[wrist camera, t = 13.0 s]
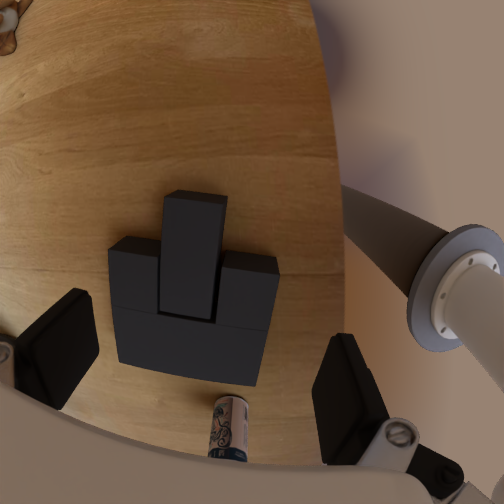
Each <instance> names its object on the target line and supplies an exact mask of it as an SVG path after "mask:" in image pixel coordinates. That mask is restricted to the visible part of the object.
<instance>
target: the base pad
mask: <svg viewBox="0 0 504 504" xmlns="http://www.w3.org/2000/svg"><path fill="white" fill-rule="evenodd" d="M160 260H161V241H159V240H152V239H145V238H138V237H131V236H126V237H124V238H123V239H121V240H120V241H119V242H117V243H116V244H115V245H113V246H112V247H111V248H109V249H108V263H109V281H110V295H111V305H112V315H113V324H114V332H115V339H116V346H117V353H118V359H119V362H120V363H124V364H128V365H132V366H136V367H140V368H144V369H149V370H153V371H158V372H163V373H167V374H172V375H178V376H183V377H188V378H194V379H200V380H207V381H213V382H220V383H228V384H236V385H244V386H254V387H255V386H256V382H257V378H258V373H259V369H260V365H261V361H262V356H263V352H264V347H265V343H266V339H267V334H268V330H269V325H270V321H271V316H272V311H273V307H274V302H275V297H276V293H277V288H278V283H279V278H280V273H279V268H278V263H277V259H276V257H271V256H264V255H257V254H250V253H243V252H236V251H229V250H226V254H225V257H224V261H223V265H222V270H221V279H220V287H219V296H218V301H214V305H213V309H212V313H211V318H210V319H205V318H198V317H192V316H186V315H180V314H175V313H169V312H164V311H160Z"/></svg>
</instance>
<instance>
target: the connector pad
mask: <svg viewBox="0 0 504 504" xmlns="http://www.w3.org/2000/svg"><path fill="white" fill-rule="evenodd" d="M227 199H228V196H223V195H216V194H208V193H200V192H192V191H184V190H177V191H175V192H173V193H171V194H169V195H167V196H165V197H164V207H163V220H162V237H161V260H160V311H164V312H169V313H175V314H180V315H186V316H192V317H198V318H205V319H210V318H211V313H212V309H213V305H214V301H215V297H216V288H217V279H218V271H219V262H220V254H221V246H222V238H223V230H224V222H225V214H226V207H227Z"/></svg>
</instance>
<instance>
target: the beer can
mask: <svg viewBox="0 0 504 504" xmlns="http://www.w3.org/2000/svg"><path fill="white" fill-rule="evenodd" d="M247 447H248V404H247V403H246V402H245V401H244V400H243V399H241V398H238V397H233V396H226V397H222V398H220V399H218V400H217V401H216V402H215V405H214V412H213V420H212V427H211V435H210V443H209V450H208V457H210V458H217V459H223V460H231V461H239V462H247Z"/></svg>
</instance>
